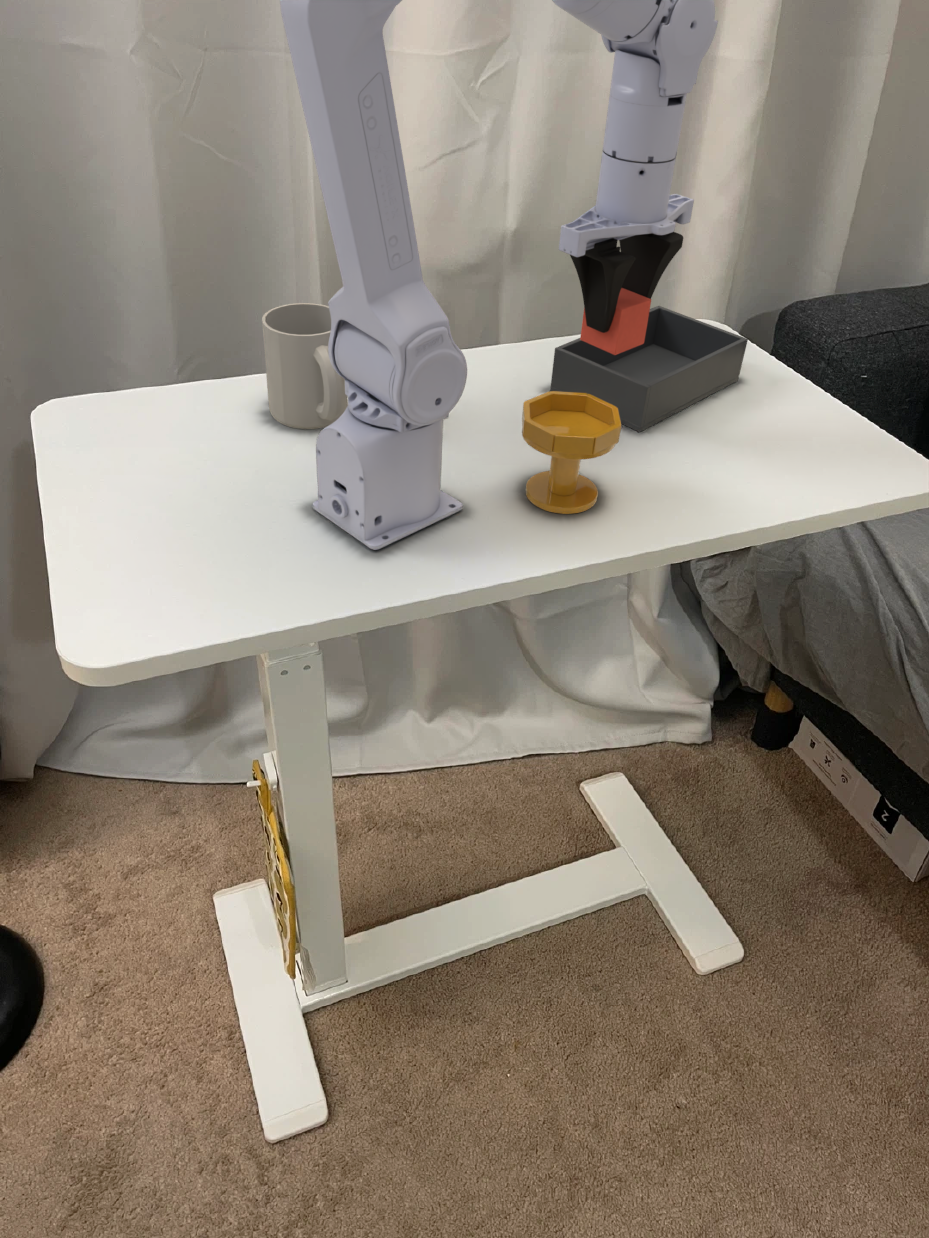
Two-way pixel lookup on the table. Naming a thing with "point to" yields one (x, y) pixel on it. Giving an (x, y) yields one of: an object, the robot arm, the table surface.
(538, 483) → the bowl
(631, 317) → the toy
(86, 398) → the table surface
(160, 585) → the table surface
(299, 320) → the cup
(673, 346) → the bin
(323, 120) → the robot arm
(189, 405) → the table surface
